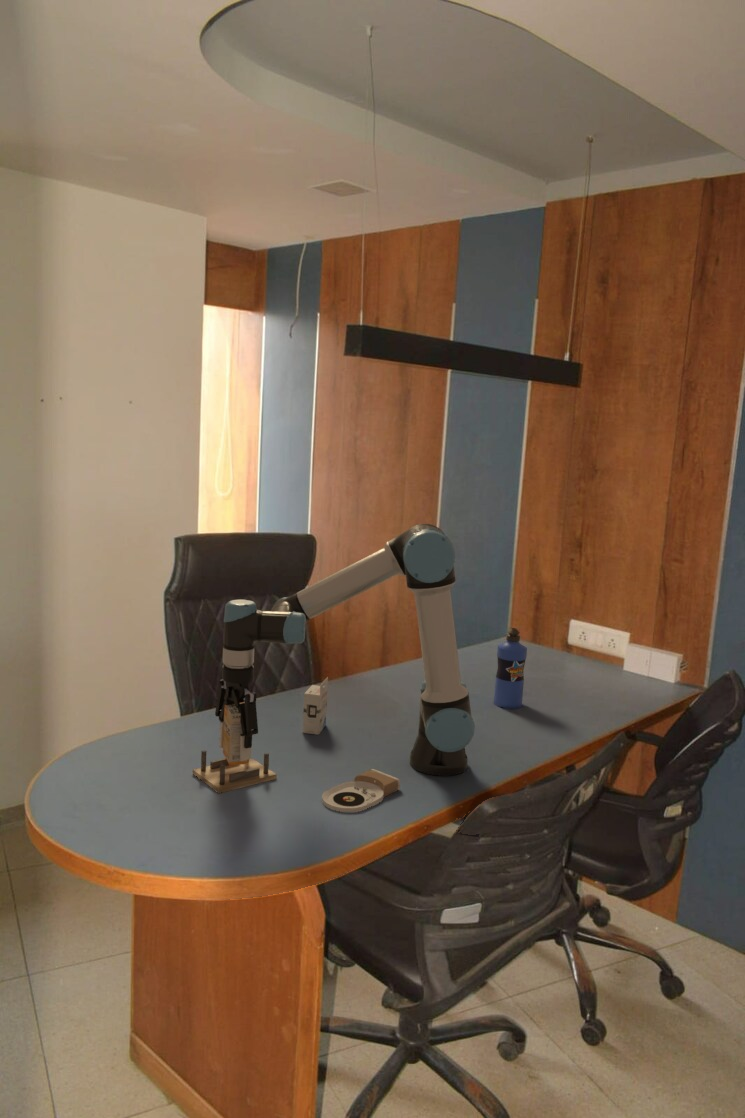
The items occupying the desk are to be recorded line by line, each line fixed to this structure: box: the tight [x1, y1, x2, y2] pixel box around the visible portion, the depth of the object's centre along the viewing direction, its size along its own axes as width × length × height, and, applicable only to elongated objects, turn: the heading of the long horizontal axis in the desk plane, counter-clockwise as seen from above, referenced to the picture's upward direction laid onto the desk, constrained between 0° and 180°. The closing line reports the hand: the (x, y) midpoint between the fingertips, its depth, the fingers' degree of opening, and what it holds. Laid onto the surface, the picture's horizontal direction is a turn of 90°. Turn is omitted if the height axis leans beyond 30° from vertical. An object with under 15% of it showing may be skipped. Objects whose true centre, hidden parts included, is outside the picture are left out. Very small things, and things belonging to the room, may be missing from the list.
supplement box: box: [222, 703, 248, 765], centre depth 217 cm, size 8×5×13 cm, turn 21°
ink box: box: [302, 676, 329, 735], centre depth 253 cm, size 9×5×15 cm, turn 168°
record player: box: [321, 768, 401, 813], centre depth 211 cm, size 12×3×20 cm
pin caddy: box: [192, 750, 277, 794], centre depth 218 cm, size 13×16×6 cm
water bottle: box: [493, 627, 528, 710], centre depth 284 cm, size 9×9×25 cm
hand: (235, 752), depth 217 cm, fingers closed on supplement box, 9 cm apart
